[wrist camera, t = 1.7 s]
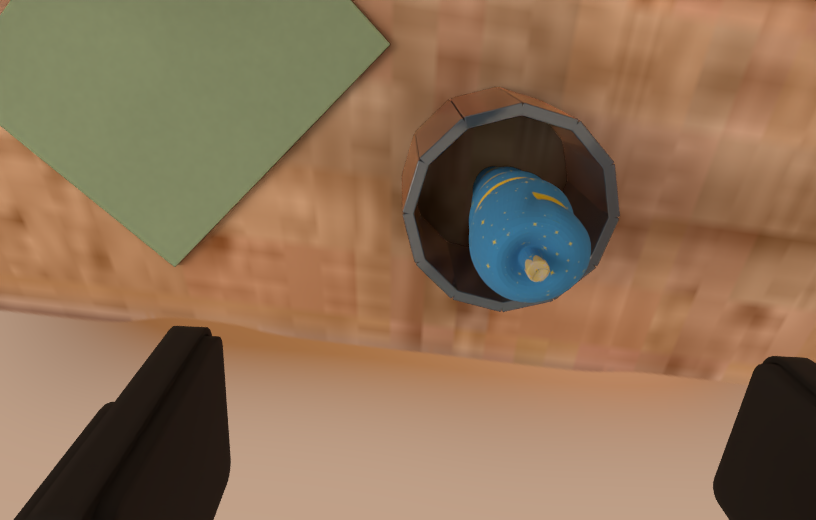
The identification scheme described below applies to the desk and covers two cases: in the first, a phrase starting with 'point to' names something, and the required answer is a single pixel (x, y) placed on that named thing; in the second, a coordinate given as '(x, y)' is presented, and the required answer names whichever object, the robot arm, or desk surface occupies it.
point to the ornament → (525, 236)
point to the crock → (584, 189)
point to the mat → (174, 98)
